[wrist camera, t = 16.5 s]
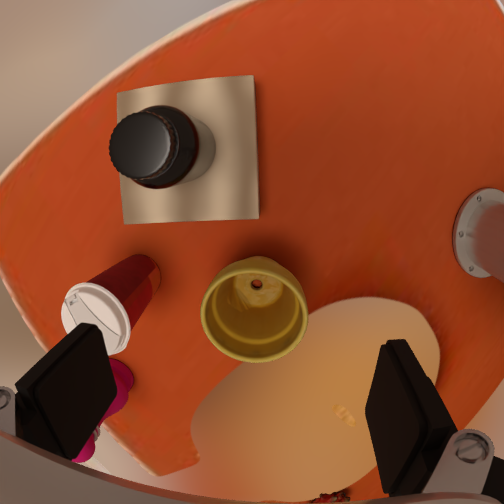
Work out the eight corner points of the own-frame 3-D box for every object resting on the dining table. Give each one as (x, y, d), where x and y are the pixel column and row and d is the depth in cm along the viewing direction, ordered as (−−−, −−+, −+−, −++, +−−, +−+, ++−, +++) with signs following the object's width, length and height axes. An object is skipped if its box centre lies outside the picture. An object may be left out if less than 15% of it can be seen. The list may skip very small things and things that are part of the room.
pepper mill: (126, 397, 46) (78, 486, 27) (91, 371, 45) (32, 453, 26) (144, 375, 44) (93, 473, 25) (106, 347, 43) (39, 435, 24)
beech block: (255, 84, 32) (253, 75, 28) (260, 212, 36) (258, 218, 33) (131, 98, 33) (117, 93, 29) (137, 217, 37) (124, 224, 34)
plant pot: (220, 320, 41) (206, 364, 31) (211, 242, 38) (193, 270, 28) (300, 317, 40) (307, 362, 31) (299, 238, 37) (309, 266, 28)
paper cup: (105, 262, 39) (45, 306, 26) (148, 235, 38) (92, 274, 25) (136, 310, 41) (89, 369, 28) (180, 288, 40) (141, 347, 26)
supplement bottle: (141, 155, 31) (80, 157, 20) (180, 104, 30) (134, 78, 18) (188, 195, 32) (146, 215, 21) (230, 143, 31) (208, 134, 19)
